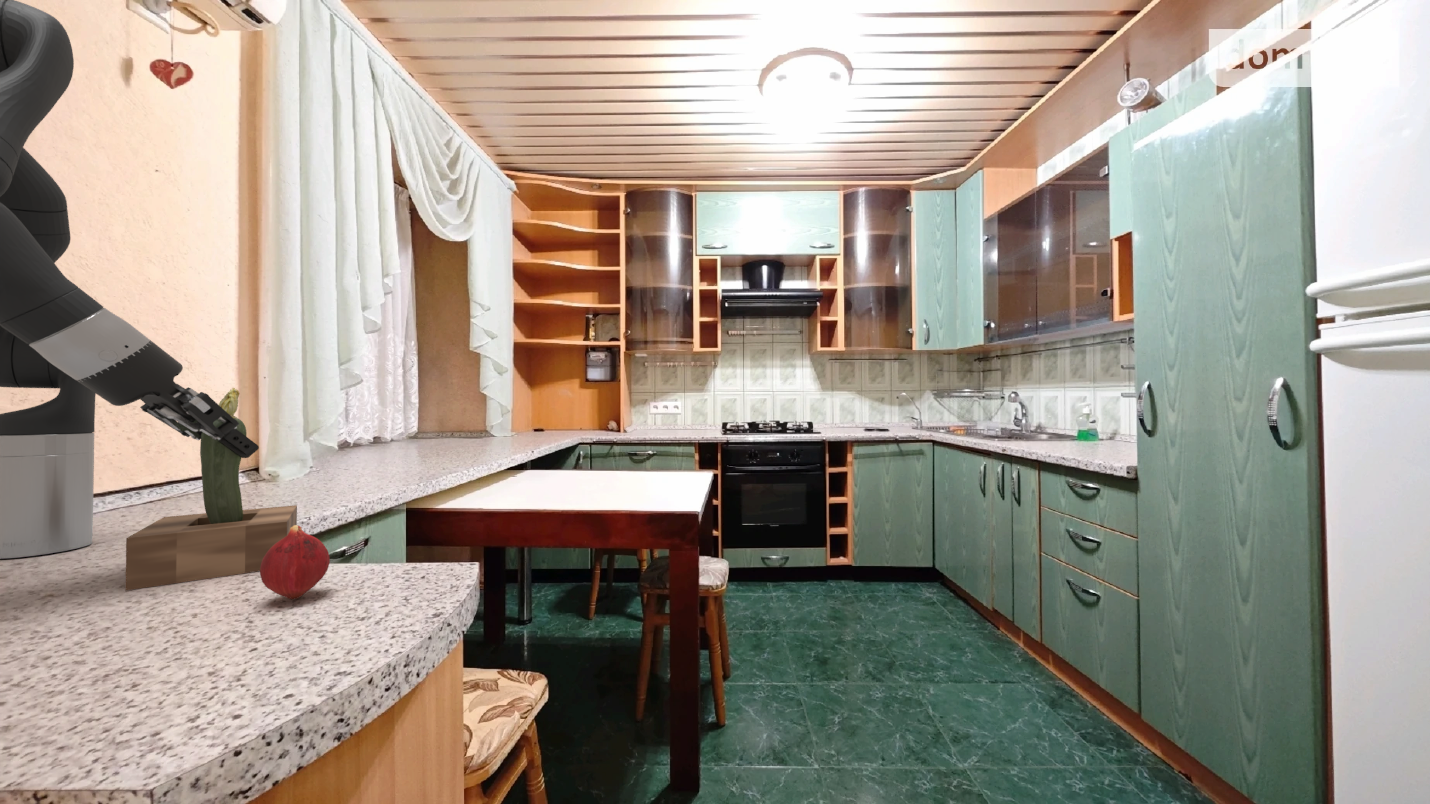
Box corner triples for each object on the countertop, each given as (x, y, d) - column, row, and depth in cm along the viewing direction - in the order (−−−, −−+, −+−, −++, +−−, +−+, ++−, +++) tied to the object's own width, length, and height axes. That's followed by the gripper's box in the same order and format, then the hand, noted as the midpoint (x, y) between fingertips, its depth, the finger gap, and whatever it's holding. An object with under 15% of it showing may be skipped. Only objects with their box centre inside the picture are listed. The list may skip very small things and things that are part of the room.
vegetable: (213, 540, 63) (218, 386, 64) (187, 538, 64) (192, 386, 65) (251, 532, 68) (256, 388, 68) (227, 530, 69) (232, 388, 69)
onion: (340, 593, 55) (341, 522, 55) (277, 613, 50) (278, 534, 50) (311, 586, 58) (312, 518, 58) (248, 603, 52) (249, 528, 52)
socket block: (163, 560, 68) (164, 516, 68) (296, 543, 76) (296, 505, 76) (125, 590, 56) (126, 538, 56) (286, 567, 65) (287, 521, 65)
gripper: (170, 333, 57) (294, 433, 67) (122, 341, 63) (243, 432, 73) (96, 375, 52) (243, 476, 62) (53, 380, 58) (193, 471, 69)
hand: (242, 452), depth 68 cm, fingers closed on vegetable, 4 cm apart
